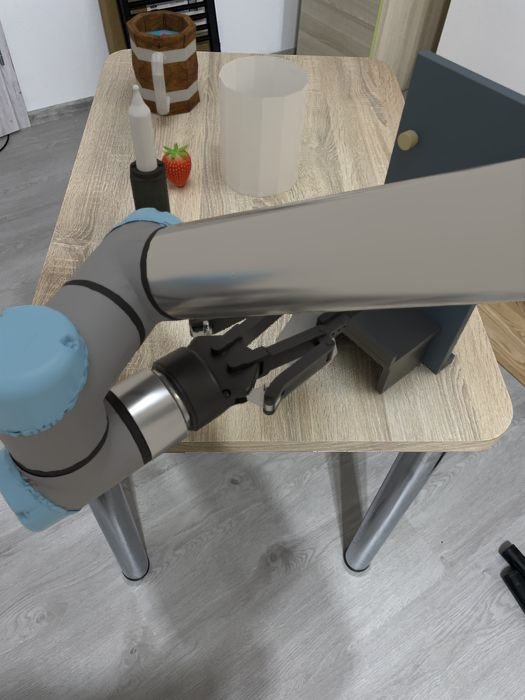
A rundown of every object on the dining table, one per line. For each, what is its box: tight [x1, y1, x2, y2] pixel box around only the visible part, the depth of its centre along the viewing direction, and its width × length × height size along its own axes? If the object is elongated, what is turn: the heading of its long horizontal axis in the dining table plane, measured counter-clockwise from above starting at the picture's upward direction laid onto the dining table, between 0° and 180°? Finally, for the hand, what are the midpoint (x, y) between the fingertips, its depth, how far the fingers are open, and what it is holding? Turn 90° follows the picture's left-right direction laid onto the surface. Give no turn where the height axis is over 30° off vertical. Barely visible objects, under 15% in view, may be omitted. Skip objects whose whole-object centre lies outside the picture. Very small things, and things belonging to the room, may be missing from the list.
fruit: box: [161, 141, 193, 187], centre depth 94 cm, size 5×5×8 cm
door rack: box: [334, 49, 525, 395], centre depth 61 cm, size 14×16×36 cm
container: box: [218, 54, 310, 198], centre depth 93 cm, size 14×14×18 cm
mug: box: [125, 9, 201, 117], centre depth 108 cm, size 20×14×15 cm
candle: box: [127, 84, 172, 214], centre depth 78 cm, size 5×5×25 cm
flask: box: [275, 312, 338, 371], centre depth 58 cm, size 7×7×10 cm
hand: (347, 290), depth 59 cm, fingers closed on flask, 3 cm apart
